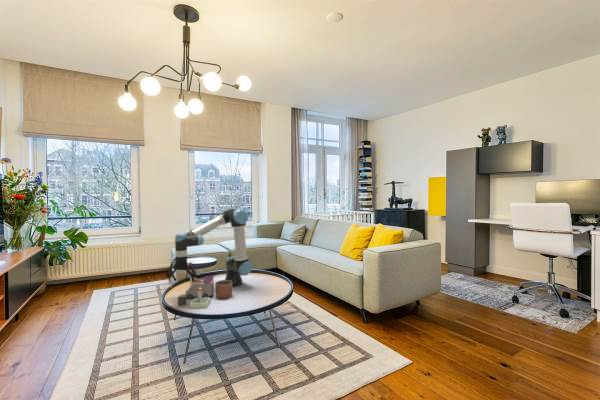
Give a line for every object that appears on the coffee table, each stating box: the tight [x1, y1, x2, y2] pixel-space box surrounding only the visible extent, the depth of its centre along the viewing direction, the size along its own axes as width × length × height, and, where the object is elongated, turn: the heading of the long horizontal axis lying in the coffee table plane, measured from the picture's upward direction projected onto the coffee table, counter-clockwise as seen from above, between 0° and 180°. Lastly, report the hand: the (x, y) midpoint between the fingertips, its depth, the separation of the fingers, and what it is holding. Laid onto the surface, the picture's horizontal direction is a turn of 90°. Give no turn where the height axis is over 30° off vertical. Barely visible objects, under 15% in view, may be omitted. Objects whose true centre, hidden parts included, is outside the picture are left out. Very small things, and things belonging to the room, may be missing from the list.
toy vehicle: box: [184, 275, 215, 300], centre depth 215 cm, size 9×20×15 cm, turn 95°
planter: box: [214, 279, 233, 300], centre depth 215 cm, size 12×12×11 cm
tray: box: [189, 296, 211, 309], centre depth 199 cm, size 11×11×4 cm
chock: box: [177, 294, 187, 306], centre depth 201 cm, size 4×5×6 cm
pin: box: [197, 287, 203, 303], centre depth 198 cm, size 4×4×12 cm
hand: (181, 286), depth 201 cm, fingers open, 13 cm apart
